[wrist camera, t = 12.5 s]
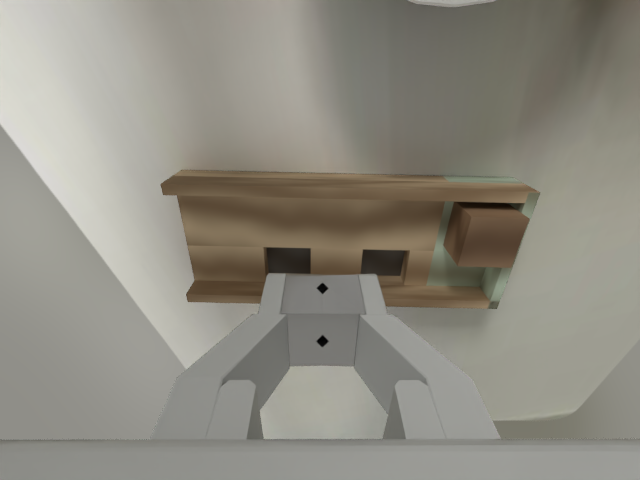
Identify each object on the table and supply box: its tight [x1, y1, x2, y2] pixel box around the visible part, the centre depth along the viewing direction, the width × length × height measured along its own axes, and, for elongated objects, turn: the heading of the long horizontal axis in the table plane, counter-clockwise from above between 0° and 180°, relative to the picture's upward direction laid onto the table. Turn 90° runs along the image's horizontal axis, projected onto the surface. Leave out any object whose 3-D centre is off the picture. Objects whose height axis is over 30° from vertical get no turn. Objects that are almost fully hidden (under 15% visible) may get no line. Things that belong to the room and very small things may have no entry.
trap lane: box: [161, 170, 540, 309], centre depth 32 cm, size 13×33×4 cm, turn 89°
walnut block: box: [443, 202, 530, 268], centre depth 29 cm, size 5×5×4 cm
